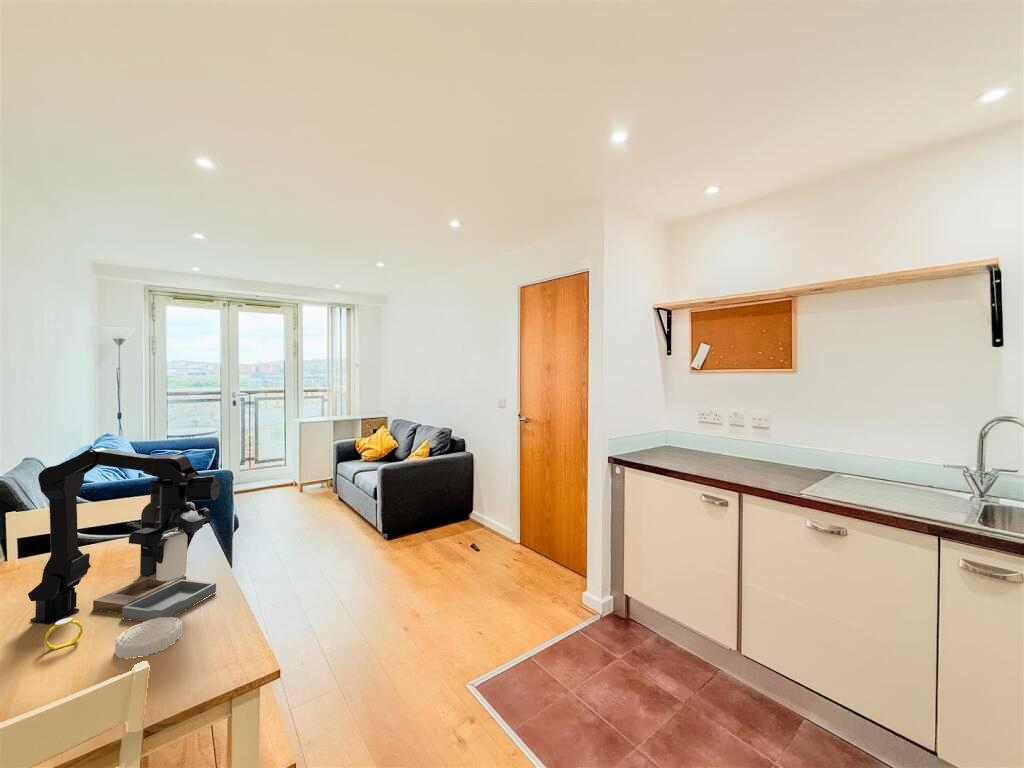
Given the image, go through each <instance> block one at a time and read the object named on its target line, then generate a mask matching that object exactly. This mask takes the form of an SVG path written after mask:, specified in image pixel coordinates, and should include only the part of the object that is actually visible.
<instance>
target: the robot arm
mask: <svg viewBox="0 0 1024 768" xmlns="http://www.w3.org/2000/svg"><path fill="white" fill-rule="evenodd" d="M191 463H192V462H191V460H190V459H189V457H188V456H187V455H184V454H163V455H150V454H149V455H148V454H141V453H134V452H129V451H128V452H127V451H121V450H115V449H106V448H104V447H96V448H95V447H94V448H91V449H87V450H85V451H83V452H82V453H79V454H78V455H75V456H74V457H72V458H70V459H67V460H65V461H63V462H61V463H59V464H56V465H51V466H48V467H46V468H44V469H43V470H41V471H40V472H39V474H38V477H37V480H38V485H39V488H40V492H41V493H42V494H43V495H44V496H45V497H46V498H47V500H48V503H49V504H48V505H49V531H50V533H49V535H50V536H49V538H50V555H49V556H50V557H49V558H48V560H47V562H46V564H45V566H44V568H43V570H42V577H41V582H39V584H38V585H37V586H35V587H34V588H33V589H32V590H30V591H29V592H28V593H27V596H28V598H29V601H30V602H35V616H34V617H31V618H30V622H33V623H39V624H40V623H41V624H46V625H47V624H48V625H49V624H53V623H56V622H57V621H59V620H62V619H65V618H67V617H69V616H71V615H74V614H76V613H77V612H79V611H80V608H77V597H78V596H77V595H78V594H77V593H78V592H77V591H76V586H78V585H80V583H81V580H82V579H83V578H84V577H85V576H86V575H87V574H88V572H89V571H88V570H89V569H90V568H92V567H91V566H92V565H91V564H90V558H91V557H90V556H91V555H90V553H89V552H87V553H84V554H83V553H82V551H81V550H79V549H80V548H79V539H78V538H79V537H78V536H79V535H78V533H79V531H78V507H77V506H78V505H77V504H78V503H77V499H78V497H77V496H78V494H79V492H80V490H81V488H83V484H84V481H85V474H86V473H88V472H90V471H92V470H94V469H95V468H96V467H97V466H103V467H110V468H116V469H117V468H118V469H123V470H124V469H127V470H133V471H139V472H140V471H141V472H145V473H147V474H149V475H150V476H153V477H155V478H156V479H157V480H156V481H155V482H154V483H153V484H151V487H160V506H159V507H156V511H160V521H158V522H156V526H160V528H157V529H154V528H144V529H141V528H140V529H137V530H135V531H132V532H131V533H130V534H129V536H128V544H129V545H130V544H131V545H138V546H139V545H140V546H141V545H146V547H147V548H148V549H149V550H150V552H151V553H152V555H153V556H154V558H155V559H156V561H157V562H158V563H159V564H161V563H162V561H163V557H164V544H165V543H166V541H167V540H168V539H164V534H165V533H168V532H170V531H173V530H183V531H184V532H185V533H186V535H187V551H188V550H189V547H190V545H191V542H192V541H193V538H194V536H195V534H196V533H197V532H198V531H199V530H201V529H203V528H204V525H207V524H209V523H211V522H212V515H211V514H210V509H208V508H207V507H203V508H201V509H198V510H193V509H192V505H191V503H187V500H188V501H190V502H201V501H215V500H217V499H218V497H219V494H220V491H221V485H220V483H219V480H218V479H217V475H215V474H213V475H212V474H211V475H207V476H205V475H203V476H201V474H200V473H199V472H198V471H197V470H196V469H195V468H194V467H193V465H192V464H191ZM151 487H150V488H151ZM167 528H169V529H167Z"/></svg>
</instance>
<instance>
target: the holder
mask: <svg viewBox="0 0 1024 768" xmlns="http://www.w3.org/2000/svg"><path fill="white" fill-rule="evenodd" d="M181 579H183V580H187V575H184V576H183V577H181V578H179V579H176V580H172V581H166V582H161V581H158V580H157V579H156V574H153V575H151V576H147V577H146V576H145V577H144V578H142V579H139V580H138V581H135V582H133V583H130V584H128V585H126V586H124V587H121V588H118V589H117V590H115V591H112V592H110V593H108V594H105V595H103V596H100V597H98V598H95V599H93V601H92V602H93V603H92V609H95V610H94V611H99V610H102V611H101V612H106V611H111V612H110V613H113V612H117V613H116V614H121V613H122V607H124V606H126V605H128V604H131V603H133V602H135V601H137V600H139V599H141V598H143V597H145V596H147V595H150V594H152V593H154V592H156V591H158V590H160V589H162V588H164V587H166V586H169V585H171V584H173V583H175V582H177V581H179V580H181ZM150 587H151V588H152V589H150V590H148V591H146V592H144V593H141V594H139V595H137V596H136V595H135V594H137V593H139V592H141V591H144V590H145V588H146V589H148V588H150ZM132 594H133V595H132Z"/></svg>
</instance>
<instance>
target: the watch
mask: <svg viewBox="0 0 1024 768" xmlns="http://www.w3.org/2000/svg"><path fill="white" fill-rule="evenodd" d="M54 623H55V624H54V625H53V626H51V627H50V628H49V629H48V631H47V632H46V634H45V635H44V641H43V642H44V643H43V644H44V645H45V646H46V648H47V649H49V650H52V651H56V650H58V649H63V648H65V647H69V646H73V645H74V644H75V643H76V642H77V641H79V639H80V638H81V636H82V634H83V631H84V630H83V624H82V623H81V622H80V620H77V619H73V617H64V618H62V619H60V620H57V621H55V622H54ZM70 624H71V625H72V624H73V625H76V626H78V628H79V632H78V634H77V635H76V637H75V638H74V639H73V640H70V641H68V642H65V643H61V644H57V645H55V644H50V642H49V641H48V637H49V636H50V635H51V633H52V632H53V631H54V630H55V629H58V628H63V627H66V626H69V625H70Z"/></svg>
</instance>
